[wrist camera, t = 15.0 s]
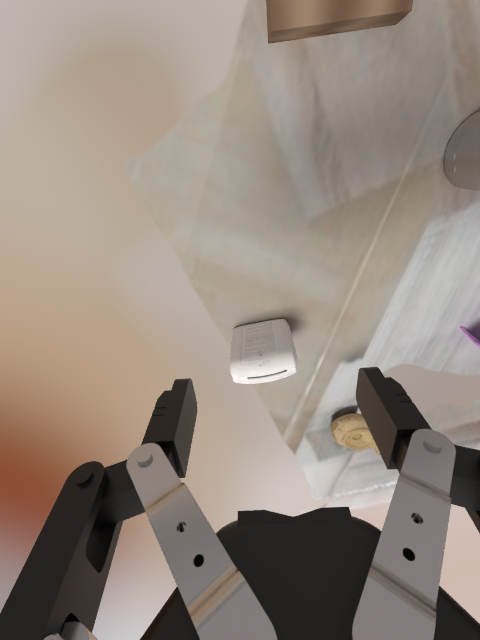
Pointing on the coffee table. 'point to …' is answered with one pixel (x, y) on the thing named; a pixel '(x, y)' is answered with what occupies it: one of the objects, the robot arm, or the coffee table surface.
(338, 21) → the walnut block
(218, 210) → the coffee table surface
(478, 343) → the toy chair
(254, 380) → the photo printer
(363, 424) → the oil lamp
